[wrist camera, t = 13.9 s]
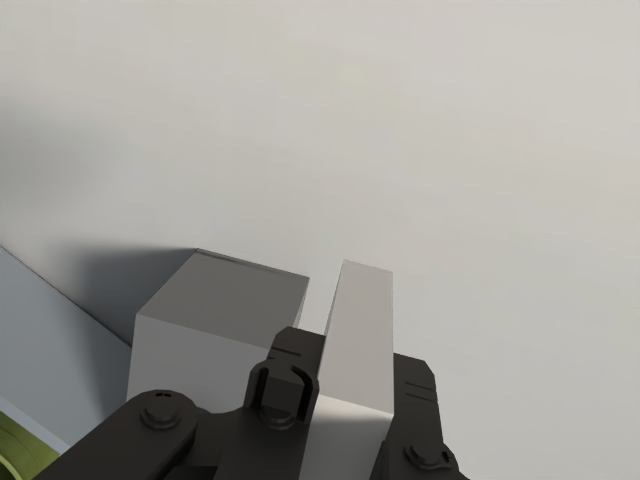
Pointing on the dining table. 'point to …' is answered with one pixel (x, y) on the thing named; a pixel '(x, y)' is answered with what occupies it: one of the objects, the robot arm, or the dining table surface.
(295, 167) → the dining table surface
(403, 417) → the robot arm
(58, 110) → the dining table surface
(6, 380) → the side door
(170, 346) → the block
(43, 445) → the plant pot
